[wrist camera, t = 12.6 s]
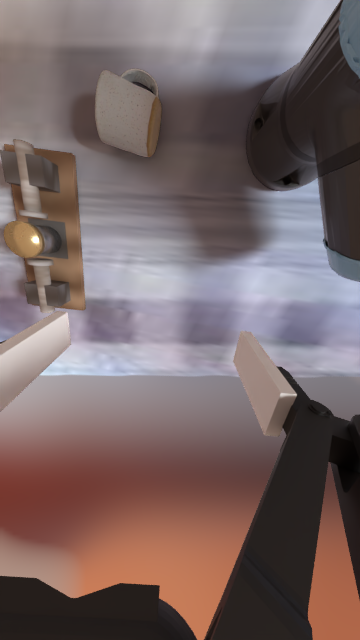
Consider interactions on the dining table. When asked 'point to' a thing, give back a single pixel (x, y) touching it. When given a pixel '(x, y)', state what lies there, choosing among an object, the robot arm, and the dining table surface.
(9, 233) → the knob
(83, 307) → the shaft bench
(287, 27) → the dining table surface
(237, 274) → the dining table surface
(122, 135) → the ceramic mug
